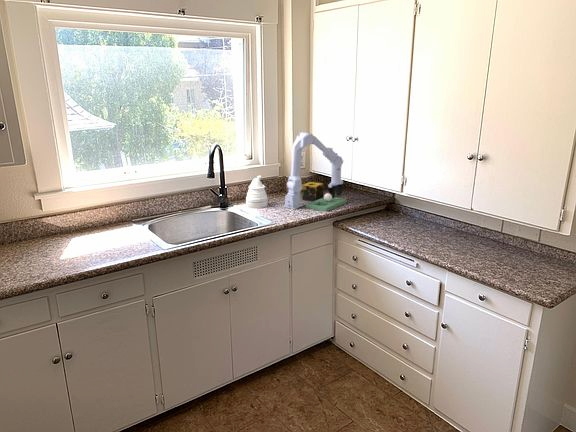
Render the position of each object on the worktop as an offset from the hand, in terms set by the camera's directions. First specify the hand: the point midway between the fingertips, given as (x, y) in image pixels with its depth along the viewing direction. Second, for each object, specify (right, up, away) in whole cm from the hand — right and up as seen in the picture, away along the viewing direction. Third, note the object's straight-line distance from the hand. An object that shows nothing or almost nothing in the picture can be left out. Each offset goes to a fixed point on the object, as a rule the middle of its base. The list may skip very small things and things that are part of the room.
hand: (335, 196), depth 266 cm
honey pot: (-48, -6, -7) cm, 49 cm away
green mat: (-6, -5, -7) cm, 11 cm away
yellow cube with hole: (-14, -2, +6) cm, 15 cm away
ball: (-6, -1, -8) cm, 9 cm away
